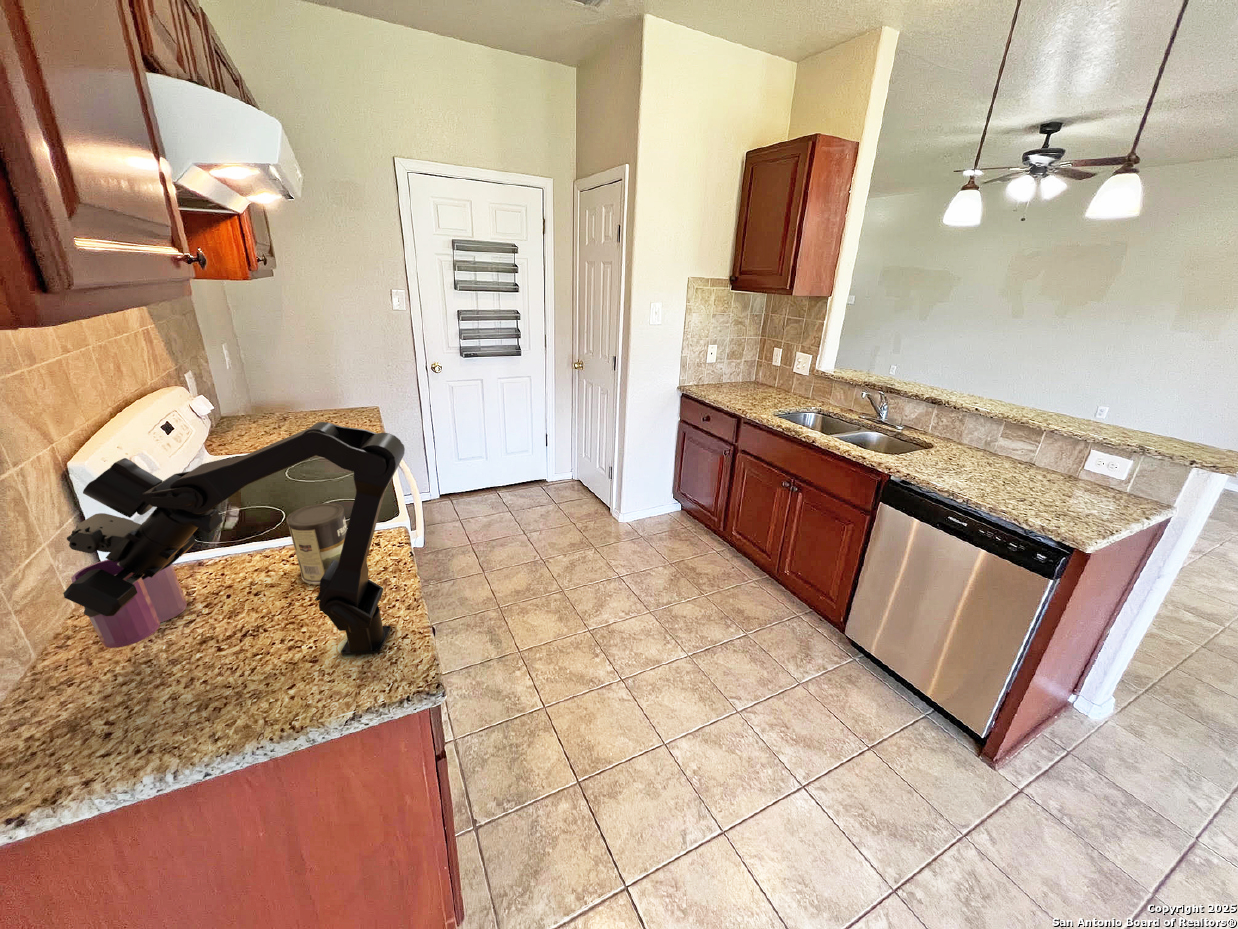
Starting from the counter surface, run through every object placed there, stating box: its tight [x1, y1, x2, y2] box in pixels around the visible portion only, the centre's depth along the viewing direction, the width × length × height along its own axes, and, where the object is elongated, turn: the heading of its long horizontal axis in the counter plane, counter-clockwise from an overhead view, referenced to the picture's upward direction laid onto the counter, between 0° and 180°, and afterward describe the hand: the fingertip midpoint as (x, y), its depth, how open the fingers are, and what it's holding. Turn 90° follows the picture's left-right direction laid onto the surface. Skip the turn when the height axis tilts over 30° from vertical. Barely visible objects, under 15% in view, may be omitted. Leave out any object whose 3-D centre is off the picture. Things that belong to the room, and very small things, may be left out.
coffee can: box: [285, 502, 348, 586], centre depth 104 cm, size 10×10×14 cm
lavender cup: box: [143, 564, 188, 623], centre depth 91 cm, size 7×7×12 cm
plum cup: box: [70, 559, 161, 649], centre depth 76 cm, size 7×7×12 cm
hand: (106, 599), depth 76 cm, fingers closed on plum cup, 7 cm apart
